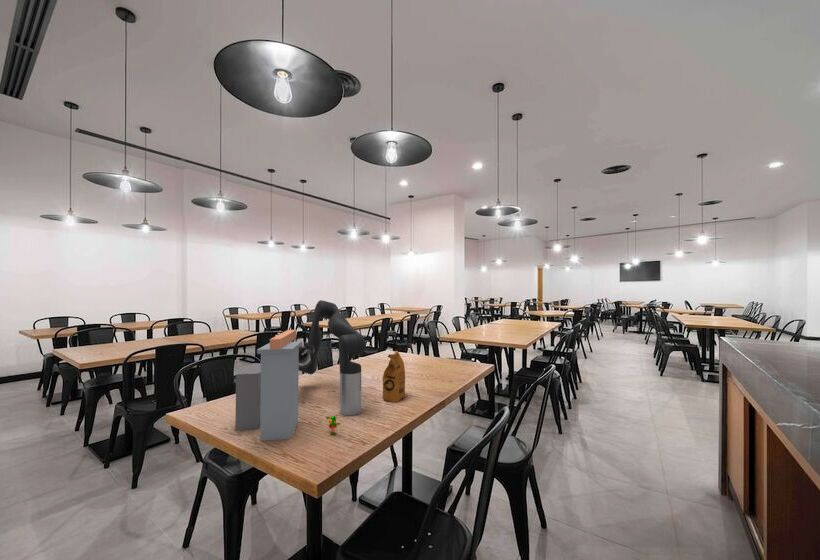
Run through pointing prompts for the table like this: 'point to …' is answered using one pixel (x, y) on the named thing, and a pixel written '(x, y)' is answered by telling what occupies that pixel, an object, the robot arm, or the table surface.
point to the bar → (282, 339)
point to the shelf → (248, 397)
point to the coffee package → (394, 379)
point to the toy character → (333, 423)
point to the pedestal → (279, 391)
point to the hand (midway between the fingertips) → (295, 344)
